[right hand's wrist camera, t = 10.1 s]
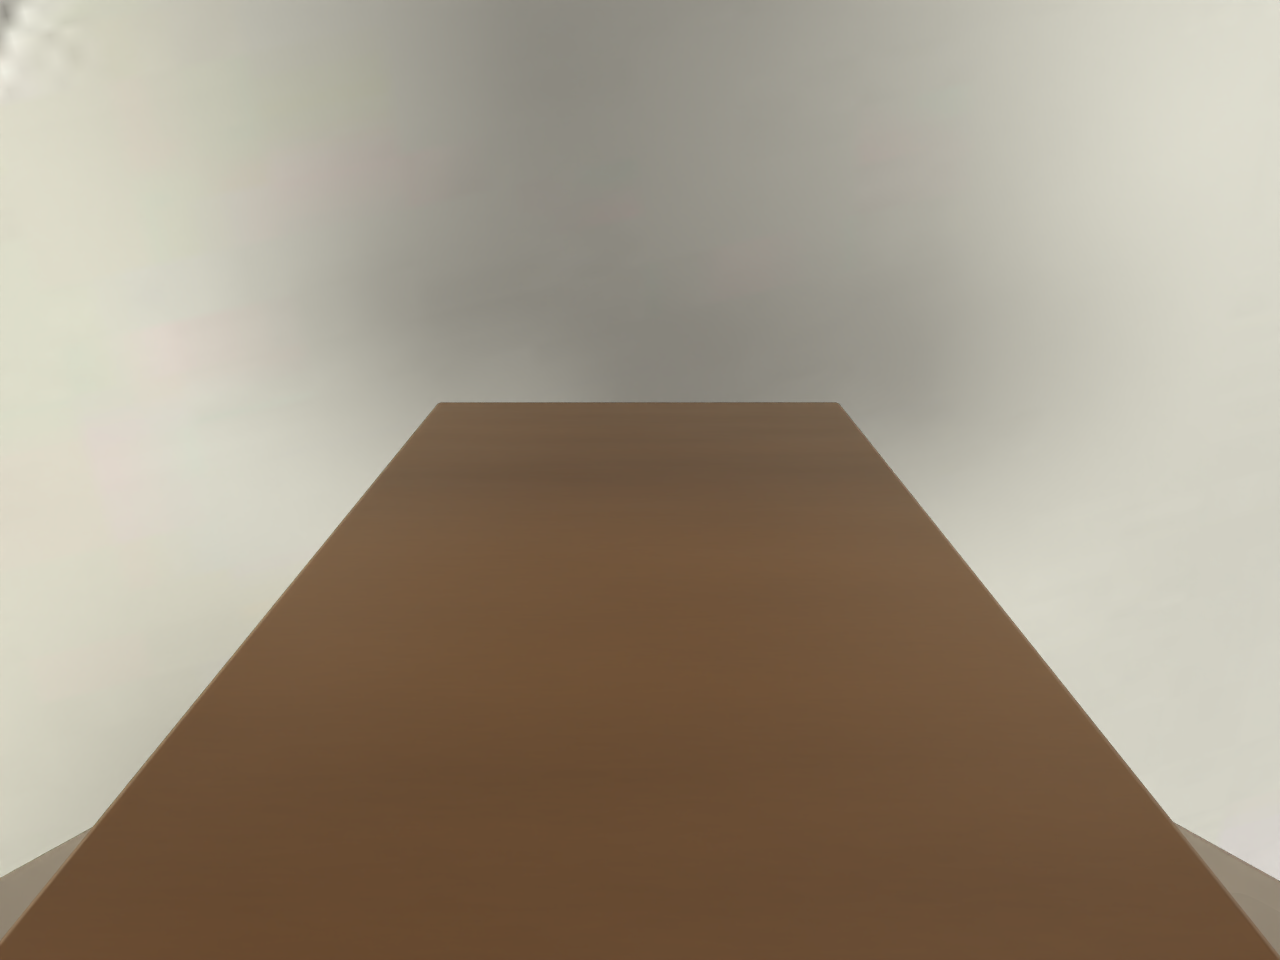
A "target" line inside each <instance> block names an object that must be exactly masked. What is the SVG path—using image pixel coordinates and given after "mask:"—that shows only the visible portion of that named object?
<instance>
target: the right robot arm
mask: <svg viewBox="0 0 1280 960" xmlns="http://www.w3.org/2000/svg"><path fill="white" fill-rule="evenodd" d="M1173 823H1174V822H1173ZM1174 824H1175V825H1176V826H1177V828H1178V829H1179V830H1180V831H1181V833H1182V834H1183V835H1184V836H1185V838H1186V839H1187V840H1188V841H1189V843H1190V844H1191V845H1192V846H1193V848H1194V849H1195V850H1196V851H1197V853H1198V854H1199V855H1200V856H1201V858H1202V859H1203V860H1204V861H1205V863H1206V864H1207V865H1208V866H1209V868H1210V869H1211V870H1212V871H1213V873H1214V874H1215V875H1216V876H1217V878H1218V879H1219V880H1220V881H1221V883H1222V884H1223V885H1224V886H1225V888H1226V889H1227V890H1228V891H1229V893H1230V894H1231V895H1232V896H1233V898H1234V899H1235V900H1236V901H1237V903H1238V904H1239V905H1240V906H1241V908H1242V909H1243V910H1244V911H1245V913H1246V914H1247V915H1248V917H1249V918H1250V919H1251V920H1252V922H1253V923H1254V924H1255V925H1256V927H1257V928H1258V929H1259V930H1260V932H1261V933H1262V934H1263V935H1264V937H1265V938H1266V939H1267V940H1268V942H1269V943H1270V944H1271V945H1272V947H1273V948H1274V949H1275V950H1276V952H1277V953H1278V954H1279V955H1280V881H1279V880H1277V879H1275V878H1273V877H1271V876H1270V875H1268V874H1266V873H1264V872H1262V871H1261V870H1259V869H1257V868H1255V867H1253V866H1252V865H1250V864H1248V863H1246V862H1244V861H1243V860H1241V859H1239V858H1237V857H1235V856H1234V855H1232V854H1230V853H1228V852H1226V851H1225V850H1223V849H1221V848H1219V847H1217V846H1216V845H1214V844H1212V843H1210V842H1208V841H1207V840H1205V839H1203V838H1201V837H1199V836H1198V835H1196V834H1194V833H1192V832H1190V831H1189V830H1187V829H1185V828H1183V827H1181V826H1180V825H1178V824H1176V823H1174ZM91 829H92V828H90V829H88V830H86V831H84V832H83V833H81V834H79V835H77V836H75V837H74V838H72V839H70V840H68V841H66V842H65V843H63V844H61V845H59V846H57V847H55V848H54V849H52V850H50V851H48V852H46V853H45V854H43V855H41V856H39V857H37V858H35V859H34V860H32V861H30V862H28V863H26V864H25V865H23V866H21V867H19V868H17V869H16V870H14V871H12V872H10V873H8V874H6V875H5V876H3V877H1V878H0V940H1V939H2V938H3V936H4V935H5V934H6V933H7V932H8V930H9V929H10V928H11V927H12V925H13V924H14V923H15V922H16V921H17V919H18V918H19V917H20V916H21V914H22V913H23V912H24V911H25V909H26V908H27V907H28V906H29V905H30V903H31V902H32V901H33V900H34V898H35V897H36V896H37V895H38V894H39V892H40V891H41V890H42V889H43V887H44V886H45V885H46V884H47V882H48V881H49V880H50V879H51V878H52V876H53V875H54V874H55V873H56V871H57V870H58V869H59V868H60V867H61V865H62V864H63V863H64V862H65V860H66V859H67V858H68V857H69V856H70V854H71V853H72V852H73V851H74V849H75V848H76V847H77V846H78V844H79V843H80V842H81V841H82V840H83V838H84V837H85V836H86V835H87V833H88V832H89V831H90V830H91Z"/></svg>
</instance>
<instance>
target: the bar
mask: <svg viewBox="0 0 1280 960" xmlns="http://www.w3.org/2000/svg"><path fill="white" fill-rule="evenodd" d="M0 960H1280V955H1279V954H1278V953H1277V952H1276V950H1275V949H1274V948H1273V947H1272V945H1271V944H1270V943H1269V942H1268V940H1267V939H1266V938H1265V937H1264V935H1263V934H1262V933H1261V932H1260V930H1259V929H1258V928H1257V927H1256V925H1255V924H1254V923H1253V922H1252V920H1251V919H1250V918H1249V917H1248V915H1247V914H1246V913H1245V911H1244V910H1243V909H1242V908H1241V906H1240V905H1239V904H1238V903H1237V901H1236V900H1235V899H1234V898H1233V896H1232V895H1231V894H1230V893H1229V891H1228V890H1227V889H1226V888H1225V886H1224V885H1223V884H1222V883H1221V881H1220V880H1219V879H1218V878H1217V876H1216V875H1215V874H1214V873H1213V871H1212V870H1211V869H1210V868H1209V866H1208V865H1207V864H1206V863H1205V861H1204V860H1203V859H1202V858H1201V856H1200V855H1199V854H1198V853H1197V851H1196V850H1195V849H1194V848H1193V846H1192V845H1191V844H1190V843H1189V841H1188V840H1187V839H1186V838H1185V836H1184V835H1183V834H1182V833H1181V831H1180V830H1179V829H1178V828H1177V826H1176V825H1175V824H1174V823H1173V821H1172V820H1171V819H1170V818H1169V816H1168V815H1167V814H1166V813H1165V811H1164V810H1163V809H1162V808H1161V806H1160V805H1159V804H1158V803H1157V801H1156V800H1155V799H1154V798H1153V796H1152V795H1151V794H1150V793H1149V791H1148V790H1147V789H1146V788H1145V786H1144V785H1143V784H1142V782H1141V781H1140V780H1139V779H1138V777H1137V776H1136V775H1135V774H1134V772H1133V771H1132V770H1131V769H1130V767H1129V766H1128V765H1127V764H1126V762H1125V761H1124V760H1123V759H1122V757H1121V756H1120V755H1119V754H1118V752H1117V751H1116V750H1115V749H1114V747H1113V746H1112V745H1111V744H1110V742H1109V741H1108V740H1107V739H1106V737H1105V736H1104V735H1103V734H1102V732H1101V731H1100V730H1099V729H1098V727H1097V726H1096V725H1095V724H1094V722H1093V721H1092V720H1091V719H1090V717H1089V716H1088V715H1087V714H1086V712H1085V711H1084V710H1083V709H1082V707H1081V706H1080V705H1079V704H1078V702H1077V701H1076V700H1075V699H1074V697H1073V696H1072V695H1071V694H1070V692H1069V691H1068V690H1067V689H1066V687H1065V686H1064V685H1063V684H1062V682H1061V681H1060V680H1059V679H1058V677H1057V676H1056V675H1055V674H1054V672H1053V671H1052V670H1051V669H1050V667H1049V666H1048V665H1047V664H1046V662H1045V661H1044V660H1043V659H1042V657H1041V656H1040V655H1039V653H1038V652H1037V651H1036V650H1035V648H1034V647H1033V646H1032V645H1031V643H1030V642H1029V641H1028V640H1027V638H1026V637H1025V636H1024V635H1023V633H1022V632H1021V631H1020V630H1019V628H1018V627H1017V626H1016V625H1015V623H1014V622H1013V621H1012V620H1011V618H1010V617H1009V616H1008V615H1007V613H1006V612H1005V611H1004V610H1003V608H1002V607H1001V606H1000V605H999V603H998V602H997V601H996V600H995V598H994V597H993V596H992V595H991V593H990V592H989V591H988V590H987V588H986V587H985V586H984V585H983V583H982V582H981V581H980V580H979V578H978V577H977V576H976V575H975V573H974V572H973V571H972V570H971V568H970V567H969V566H968V565H967V563H966V562H965V561H964V560H963V558H962V557H961V556H960V555H959V553H958V552H957V551H956V550H955V548H954V547H953V546H952V545H951V543H950V542H949V541H948V540H947V538H946V537H945V536H944V535H943V533H942V532H941V531H940V530H939V528H938V527H937V526H936V524H935V523H934V522H933V521H932V519H931V518H930V517H929V516H928V514H927V513H926V512H925V511H924V509H923V508H922V507H921V506H920V504H919V503H918V502H917V501H916V499H915V498H914V497H913V496H912V494H911V493H910V492H909V491H908V489H907V488H906V487H905V486H904V484H903V483H902V482H901V481H900V479H899V478H898V477H897V476H896V474H895V473H894V472H893V471H892V469H891V468H890V467H889V466H888V464H887V463H886V462H885V461H884V459H883V458H882V457H881V456H880V454H879V453H878V452H877V451H876V449H875V448H874V447H873V446H872V444H871V443H870V442H869V441H868V439H867V438H866V437H865V436H864V434H863V433H862V432H861V431H860V429H859V428H858V427H857V426H856V424H855V423H854V422H853V421H852V419H851V418H850V417H849V416H848V414H847V413H846V412H845V411H844V409H843V408H842V407H841V406H840V404H839V403H836V402H694V403H438V404H437V405H436V406H435V408H434V409H433V410H432V411H431V413H430V414H429V415H428V416H427V418H426V419H425V420H424V421H423V422H422V424H421V425H420V426H419V427H418V429H417V430H416V431H415V432H414V433H413V435H412V436H411V437H410V438H409V440H408V441H407V442H406V443H405V445H404V446H403V447H402V448H401V449H400V451H399V452H398V453H397V454H396V456H395V457H394V458H393V459H392V460H391V462H390V463H389V464H388V465H387V467H386V468H385V469H384V470H383V471H382V473H381V474H380V475H379V476H378V478H377V479H376V480H375V481H374V483H373V484H372V485H371V486H370V487H369V489H368V490H367V491H366V492H365V494H364V495H363V496H362V497H361V498H360V500H359V501H358V502H357V503H356V505H355V506H354V507H353V508H352V510H351V511H350V512H349V513H348V514H347V516H346V517H345V518H344V519H343V521H342V522H341V523H340V524H339V525H338V527H337V528H336V529H335V530H334V532H333V533H332V534H331V535H330V537H329V538H328V539H327V540H326V541H325V543H324V544H323V545H322V546H321V548H320V549H319V550H318V551H317V552H316V554H315V555H314V556H313V557H312V559H311V560H310V561H309V562H308V564H307V565H306V566H305V567H304V568H303V570H302V571H301V572H300V573H299V575H298V576H297V577H296V578H295V579H294V581H293V582H292V583H291V584H290V586H289V587H288V588H287V589H286V590H285V592H284V593H283V594H282V595H281V597H280V598H279V599H278V600H277V602H276V603H275V604H274V605H273V606H272V608H271V609H270V610H269V611H268V613H267V614H266V615H265V616H264V617H263V619H262V620H261V621H260V622H259V624H258V625H257V626H256V627H255V629H254V630H253V631H252V632H251V633H250V635H249V636H248V637H247V638H246V640H245V641H244V642H243V643H242V644H241V646H240V647H239V648H238V649H237V651H236V652H235V653H234V654H233V656H232V657H231V658H230V659H229V660H228V662H227V663H226V664H225V665H224V667H223V668H222V669H221V670H220V671H219V673H218V674H217V675H216V676H215V678H214V679H213V680H212V681H211V683H210V684H209V685H208V686H207V687H206V689H205V690H204V691H203V692H202V694H201V695H200V696H199V697H198V698H197V700H196V701H195V702H194V703H193V705H192V706H191V707H190V708H189V710H188V711H187V712H186V713H185V714H184V716H183V717H182V718H181V719H180V721H179V722H178V723H177V724H176V725H175V727H174V728H173V729H172V730H171V732H170V733H169V734H168V735H167V736H166V738H165V739H164V740H163V741H162V743H161V744H160V745H159V746H158V748H157V749H156V750H155V751H154V752H153V754H152V755H151V756H150V757H149V759H148V760H147V761H146V762H145V763H144V765H143V766H142V767H141V768H140V770H139V771H138V772H137V773H136V775H135V776H134V777H133V778H132V779H131V781H130V782H129V783H128V784H127V786H126V787H125V788H124V789H123V790H122V792H121V793H120V794H119V795H118V797H117V798H116V799H115V800H114V802H113V803H112V804H111V805H110V806H109V808H108V809H107V810H106V811H105V813H104V814H103V815H102V816H101V817H100V819H99V820H98V821H97V822H96V824H95V825H94V826H93V827H92V829H91V830H90V831H89V832H88V833H87V835H86V836H85V837H84V838H83V840H82V841H81V842H80V843H79V844H78V846H77V847H76V848H75V849H74V851H73V852H72V853H71V854H70V856H69V857H68V858H67V859H66V860H65V862H64V863H63V864H62V865H61V867H60V868H59V869H58V870H57V871H56V873H55V874H54V875H53V876H52V878H51V879H50V880H49V881H48V882H47V884H46V885H45V886H44V887H43V889H42V890H41V891H40V892H39V894H38V895H37V896H36V897H35V898H34V900H33V901H32V902H31V903H30V905H29V906H28V907H27V908H26V909H25V911H24V912H23V913H22V914H21V916H20V917H19V918H18V919H17V921H16V922H15V923H14V924H13V925H12V927H11V928H10V929H9V930H8V932H7V933H6V934H5V935H4V936H3V938H2V939H1V940H0Z"/></svg>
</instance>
